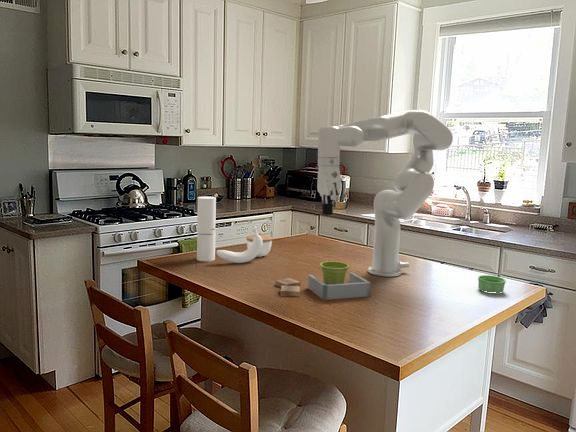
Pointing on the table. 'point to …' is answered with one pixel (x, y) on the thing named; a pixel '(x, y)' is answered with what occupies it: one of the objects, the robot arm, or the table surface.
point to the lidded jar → (265, 245)
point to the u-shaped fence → (340, 288)
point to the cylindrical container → (206, 228)
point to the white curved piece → (246, 255)
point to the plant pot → (334, 272)
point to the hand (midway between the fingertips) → (327, 214)
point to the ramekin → (491, 283)
